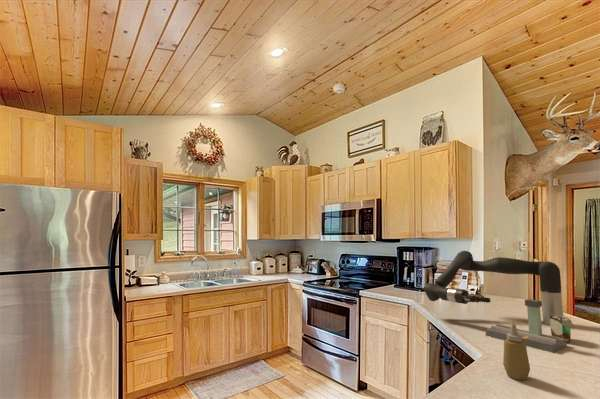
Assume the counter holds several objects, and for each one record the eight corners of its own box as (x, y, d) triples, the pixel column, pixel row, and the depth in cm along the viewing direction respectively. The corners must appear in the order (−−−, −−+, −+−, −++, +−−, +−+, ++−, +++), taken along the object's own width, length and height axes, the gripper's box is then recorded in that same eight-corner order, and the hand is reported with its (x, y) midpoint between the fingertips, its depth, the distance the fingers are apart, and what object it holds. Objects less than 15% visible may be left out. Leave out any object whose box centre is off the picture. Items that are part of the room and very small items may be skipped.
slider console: (500, 330, 171) (500, 322, 172) (566, 346, 148) (566, 336, 148) (485, 335, 164) (485, 326, 164) (553, 352, 140) (552, 342, 141)
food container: (580, 344, 149) (578, 321, 150) (564, 343, 151) (562, 321, 151) (564, 336, 161) (562, 314, 162) (550, 335, 163) (548, 314, 164)
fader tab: (531, 333, 155) (529, 299, 157) (544, 336, 151) (541, 300, 152) (527, 335, 153) (524, 300, 154) (539, 338, 149) (537, 302, 150)
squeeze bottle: (498, 372, 121) (495, 321, 123) (519, 371, 122) (515, 320, 124) (514, 382, 113) (510, 328, 115) (537, 381, 114) (532, 327, 116)
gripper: (450, 290, 182) (482, 294, 167) (464, 287, 189) (495, 291, 174) (451, 304, 181) (483, 309, 166) (465, 301, 188) (497, 306, 174)
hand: (489, 300), depth 170 cm, fingers closed
